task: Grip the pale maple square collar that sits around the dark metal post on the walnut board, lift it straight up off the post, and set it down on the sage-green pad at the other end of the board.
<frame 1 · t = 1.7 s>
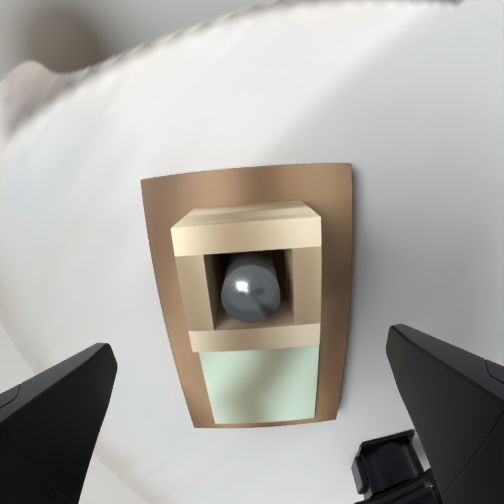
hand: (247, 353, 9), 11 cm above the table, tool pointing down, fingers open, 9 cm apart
post: (251, 273, 15), on the board, point 2 cm above the table
collar: (251, 255, 17), point 1 cm above the table, touching board
board: (257, 318, 20), on the table
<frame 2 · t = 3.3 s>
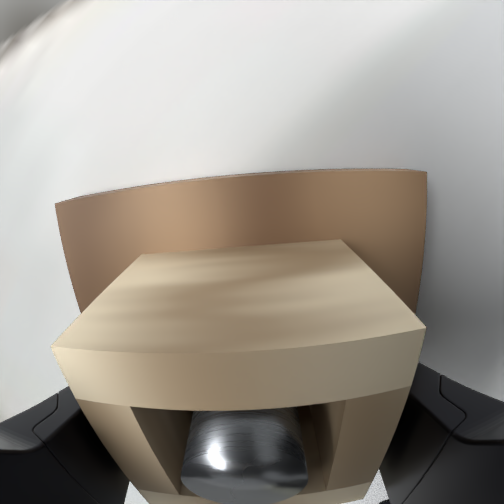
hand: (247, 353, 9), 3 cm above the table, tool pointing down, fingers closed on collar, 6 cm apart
post: (247, 335, 10), resting on board
collar: (247, 335, 10), point 1 cm above the table, touching board, gripper
board: (257, 405, 12), on the table
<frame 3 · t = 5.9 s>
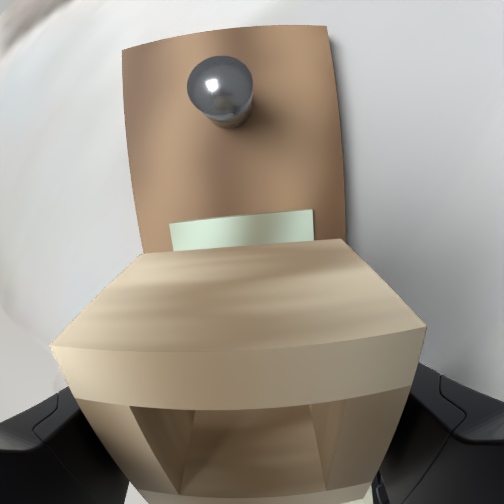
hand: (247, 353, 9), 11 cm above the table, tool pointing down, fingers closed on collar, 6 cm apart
post: (225, 98, 12), on the board, point 1 cm above the table
canister: (373, 487, 31), on the table
collar: (247, 334, 10), point 10 cm above the table, touching gripper
board: (239, 193, 18), on the table
when the fingers open (4 cm above the table, at t = 8.3 s): collar drops 1 cm, resting on board.
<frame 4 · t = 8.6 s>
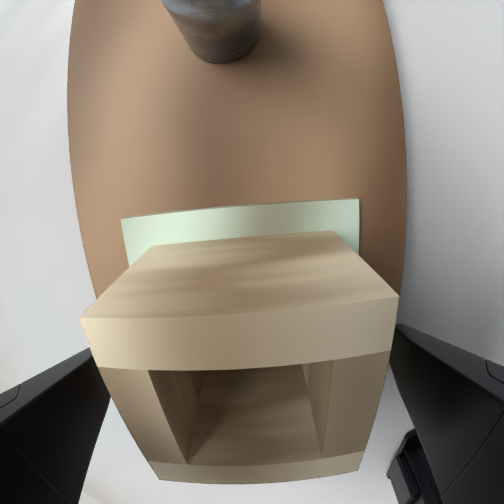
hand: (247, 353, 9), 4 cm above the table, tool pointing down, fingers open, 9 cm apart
post: (223, 33, 8), resting on board
collar: (248, 318, 11), point 2 cm above the table, touching board
board: (236, 172, 11), on the table
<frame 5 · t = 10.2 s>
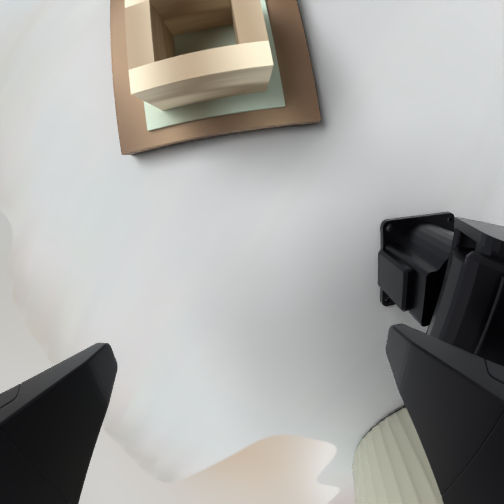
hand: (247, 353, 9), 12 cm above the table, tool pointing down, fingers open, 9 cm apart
canister: (402, 430, 27), on the table
collar: (206, 54, 14), point 2 cm above the table, touching board
board: (201, 4, 14), on the table
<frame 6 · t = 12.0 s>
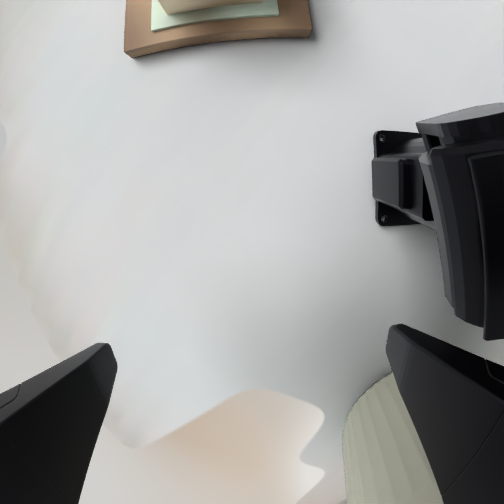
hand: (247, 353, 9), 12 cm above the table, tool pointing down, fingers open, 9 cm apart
canister: (399, 401, 25), on the table
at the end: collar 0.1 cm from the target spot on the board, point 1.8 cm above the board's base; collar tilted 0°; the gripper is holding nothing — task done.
